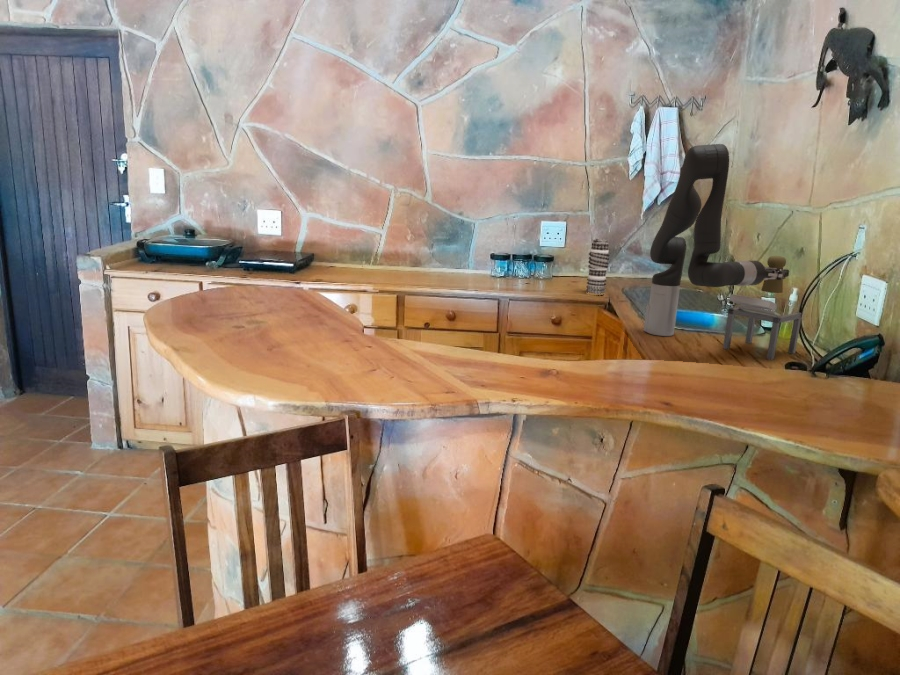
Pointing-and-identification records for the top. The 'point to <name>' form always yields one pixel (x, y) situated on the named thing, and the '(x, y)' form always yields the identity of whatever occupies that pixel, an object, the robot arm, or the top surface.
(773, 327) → the grey miniature table
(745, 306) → the trapdoor
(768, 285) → the cork
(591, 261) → the striped stacked cylinder
